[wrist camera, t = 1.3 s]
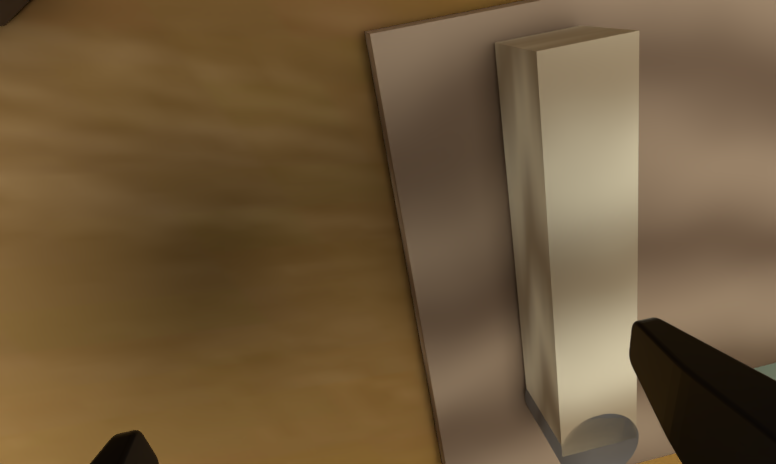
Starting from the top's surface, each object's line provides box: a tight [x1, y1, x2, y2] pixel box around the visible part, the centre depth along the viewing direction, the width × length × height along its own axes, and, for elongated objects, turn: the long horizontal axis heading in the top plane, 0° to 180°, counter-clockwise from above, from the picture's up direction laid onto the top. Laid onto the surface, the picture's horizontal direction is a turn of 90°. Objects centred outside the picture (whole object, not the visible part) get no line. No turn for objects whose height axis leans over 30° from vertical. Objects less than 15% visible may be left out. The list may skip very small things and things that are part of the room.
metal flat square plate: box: [365, 0, 776, 464], centre depth 24 cm, size 22×21×2 cm
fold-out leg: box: [495, 26, 639, 464], centre depth 20 cm, size 17×3×4 cm, turn 10°
